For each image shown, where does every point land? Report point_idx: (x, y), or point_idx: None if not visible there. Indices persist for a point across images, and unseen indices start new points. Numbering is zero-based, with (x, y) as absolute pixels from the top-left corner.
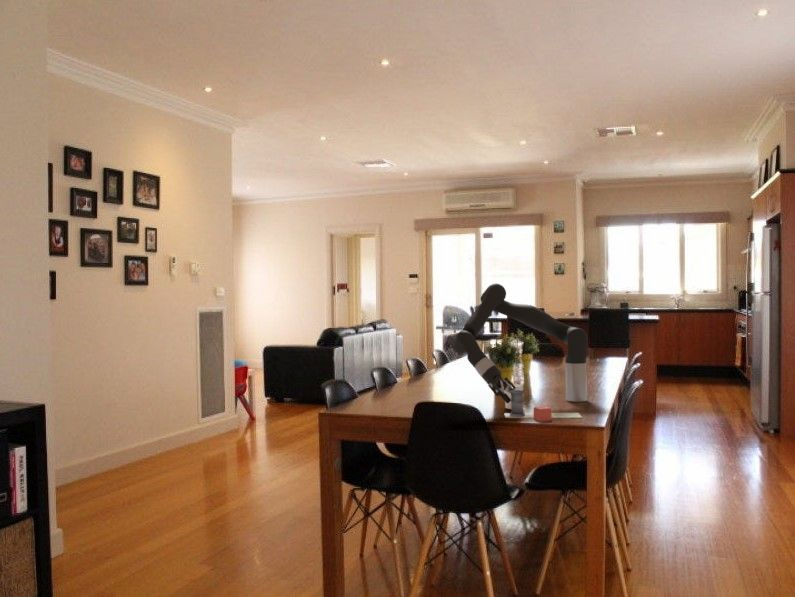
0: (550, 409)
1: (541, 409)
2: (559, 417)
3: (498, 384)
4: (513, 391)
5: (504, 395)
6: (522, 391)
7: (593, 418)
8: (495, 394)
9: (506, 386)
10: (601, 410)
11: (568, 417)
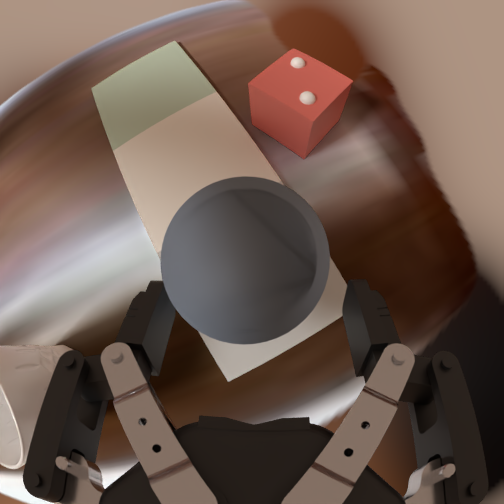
0: (296, 53)
1: (342, 75)
2: (210, 84)
3: (375, 477)
4: (323, 265)
5: (395, 333)
6: (255, 177)
7: (165, 28)
8: (434, 401)
9: (212, 424)
10: (38, 82)
11: (194, 65)
